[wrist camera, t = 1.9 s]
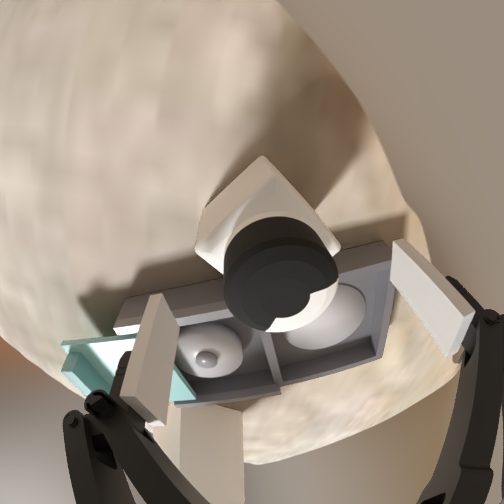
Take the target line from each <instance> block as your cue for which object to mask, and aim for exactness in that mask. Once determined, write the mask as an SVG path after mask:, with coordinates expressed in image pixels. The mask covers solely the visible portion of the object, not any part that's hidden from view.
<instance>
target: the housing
mask: <svg viewBox="0 0 504 504" xmlns="http://www.w3.org/2000/svg"><path fill="white" fill-rule="evenodd" d="M333 259H334V261H335V263H336V265H337V269H338V275H339V280H338V287H337V291H336V293H335V296H334V298H333V299H332V301H331V303H330V304H329V306H328V307H327V308H326V310H325V311H324V312H323V313H322V314H321V315H320V316H319V317H317V318H316V319H315V320H313V321H312V322H310V323H308V324H306V325H305V326H302V327H300V328H297V329H294V330H290V331H285V332H265V331H260V330H257V329H254V328H251V327H249V326H247V325H245V324H243V323H242V322H240V321H239V320H238V319H237V318H235V317H234V316H233V314H232V313H231V312H230V311H229V309H228V307H227V305H226V302H225V299H224V293H223V278H220V279H216V280H211V281H206V282H202V283H197V284H192V285H187V286H183V287H178V288H173V289H168V290H163V291H159V292H154V293H149V294H144V295H139V296H134V297H129V298H125V300H124V302H123V305H122V307H121V310H120V312H119V315H118V317H117V320H116V322H115V325H114V327H113V329H114V331H115V332H116V333H117V335H125V334H133V333H138V330H139V327H140V323H141V320H142V317H143V314H144V312H145V309H146V306H147V303H148V300H149V297H150V295H154V294H160V293H162V294H163V296H164V298H165V300H166V302H167V304H168V306H169V308H170V310H171V312H172V314H173V316H174V318H175V320H176V322H177V323H178V325H179V327H180V331H179V336H178V343H177V349H176V355H175V361H174V364H175V365H176V367H177V368H178V369H179V371H180V372H181V374H182V375H183V377H184V378H185V379H186V381H187V382H188V384H189V385H190V386H191V388H192V389H193V390H194V392H195V393H196V399H195V400H183V401H174V405H175V407H176V408H185V407H198V406H208V405H217V404H226V403H233V402H240V401H247V400H253V399H259V398H264V397H270V396H275V395H280V394H281V390H280V386H285V385H290V384H294V383H298V382H303V381H307V380H311V379H315V378H319V377H322V376H326V375H330V374H333V373H337V372H340V371H343V370H347V369H350V368H353V367H356V366H359V365H362V364H365V363H368V362H371V361H374V360H377V359H380V358H382V355H383V351H384V347H385V342H386V338H387V333H388V328H389V323H390V317H391V312H392V306H393V300H394V293H395V286H394V285H393V283H392V282H391V281H390V274H391V262H392V250H391V249H390V248H389V247H388V246H387V245H386V244H385V243H384V242H383V241H378V242H374V243H370V244H366V245H362V246H358V247H354V248H350V249H346V250H342V251H339V252H337V253H336V254H335V255H334V256H333Z"/></svg>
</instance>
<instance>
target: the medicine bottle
mask: <svg viewBox="0 0 504 504" xmlns="http://www.w3.org/2000/svg"><path fill="white" fill-rule="evenodd" d="M340 249H341V246H340V243H339V242H338V241H337V239H336V238H335V237H334V235H333V234H332V233H331V231H330V230H329V229H328V227H327V226H326V225H325V223H324V222H323V221H322V220H321V218H320V217H319V216H318V214H317V213H316V212H315V211H314V209H313V208H312V207H311V206H310V205H309V204H308V203H307V201H306V200H305V199H304V198H303V197H302V196H301V195H300V193H299V192H298V191H297V190H296V189H295V188H294V187H293V186H292V185H291V184H290V182H289V181H288V180H287V179H286V178H285V177H284V176H283V175H282V174H281V173H280V172H279V171H278V169H277V168H276V167H275V166H274V165H273V164H272V163H271V162H270V161H269V160H268V159H267V158H266V157H265V156H259V157H258V158H257V159H256V160H255V161H254V162H252V163H251V164H250V165H249V166H248V167H247V168H246V169H245V170H244V171H243V172H242V173H241V174H240V175H238V176H237V177H236V178H235V179H234V180H233V181H232V182H231V183H230V184H229V185H228V186H227V187H226V188H225V189H224V190H223V191H222V192H221V193H220V194H219V195H218V196H217V197H216V198H214V199H213V200H212V201H211V202H210V203H209V204H208V205H207V206H206V207H205V208H204V209H203V211H202V215H201V220H200V224H199V229H198V234H197V238H196V243H195V252H196V253H197V254H198V255H199V256H200V257H202V258H203V259H204V260H205V261H207V262H208V263H209V264H210V265H212V266H213V267H214V268H215V269H217V270H218V271H219V272H220V273H222V274H223V293H224V299H225V302H226V305H227V307H228V309H229V311H230V312H231V313H232V314H233V316H234V317H235V318H237V319H238V320H239V321H240V322H242V323H243V324H245V325H247V326H249V327H251V328H254V329H257V330H260V331H265V332H285V331H290V330H294V329H297V328H300V327H302V326H305V325H306V324H308V323H310V322H312V321H313V320H315V319H316V318H317V317H319V316H320V315H321V314H322V313H323V312H324V311H325V310H326V308H327V307H328V306H329V304H330V303H331V301H332V299H333V298H334V296H335V293H336V291H337V287H338V280H339V275H338V269H337V265H336V263H335V261H334V259H333V256H334V255H335V254H336V253H337V252H339V251H340Z"/></svg>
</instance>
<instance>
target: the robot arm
mask: <svg viewBox="0 0 504 504" xmlns="http://www.w3.org/2000/svg"><path fill="white" fill-rule="evenodd" d="M390 281H391V282H392V283H393V285H394V286H395V287H396V288H397V290H398V291H399V292H400V294H401V295H402V296H403V298H404V299H405V300H406V302H407V303H408V304H409V306H410V307H411V308H412V310H413V311H414V312H415V314H416V315H417V316H418V318H419V319H420V321H421V322H422V324H423V325H424V326H425V328H426V329H427V331H428V332H429V334H430V335H431V336H432V338H433V339H434V341H435V342H436V344H437V345H438V347H439V348H440V350H441V351H442V353H443V355H444V356H445V358H448V357H450V356H452V355H454V354H455V353H457V352H458V350H459V348H460V346H461V344H462V346H463V347H464V351H463V353H462V355H461V357H460V359H459V361H458V363H459V364H460V362H461V360H462V364H461V371H460V378H459V383H458V389H457V394H456V399H455V404H454V409H453V413H452V417H451V421H450V425H449V428H448V432H447V435H446V439H445V442H444V445H443V448H442V451H441V455H440V457H439V460H438V463H437V466H436V468H435V471H434V473H433V476H432V478H431V480H430V482H429V483H428V485H427V486H426V487H425V489H424V490H423V492H422V494H421V496H420V498H419V500H418V502H417V504H484V503H485V501H486V498H487V495H488V492H489V489H490V486H491V483H492V479H493V470H492V469H491V468H490V462H491V458H492V454H493V450H494V445H495V440H496V435H497V430H498V424H499V417H500V409H501V403H502V415H503V436H504V314H502V315H499V314H498V313H497V312H496V311H494V310H491V309H486V310H484V309H483V308H482V306H481V305H480V304H479V303H478V302H477V301H476V300H475V299H474V298H473V297H472V295H471V294H470V293H469V292H467V290H466V289H465V288H463V286H462V285H461V284H460V283H459V282H458V281H457V280H456V279H454V278H452V277H450V276H447V277H444V276H443V275H442V274H441V273H440V272H439V271H438V270H437V269H436V268H435V267H434V266H433V265H432V264H431V263H430V262H429V261H428V260H427V259H426V258H425V257H424V256H422V255H421V254H420V253H419V252H418V251H417V250H416V249H415V248H414V247H413V246H412V245H411V244H410V243H409V242H407V241H406V240H405V239H404V238H402V239H398V240H394V241H393V247H392V262H391V274H390ZM179 331H180V327H179V325H178V323H177V322H176V320H175V318H174V316H173V314H172V312H171V310H170V308H169V306H168V304H167V302H166V300H165V298H164V296H163V294H162V293H160V294H154V295H150V297H149V300H148V303H147V306H146V309H145V312H144V314H143V317H142V320H141V323H140V327H139V330H138V333H137V336H136V339H135V342H134V346H133V349H132V351H125V352H124V354H123V355H122V357H121V358H120V360H119V363H118V366H117V369H116V372H115V376H114V379H113V383H112V386H111V389H110V393H109V395H108V394H107V393H106V392H105V391H104V390H101V389H98V390H94V391H92V392H91V393H90V394H89V395H88V396H87V398H86V399H85V403H84V407H85V409H86V411H88V412H89V414H86V415H83V414H82V413H80V412H79V411H77V410H72V411H70V412H68V413H67V414H66V416H65V417H64V420H63V432H64V442H65V450H66V456H67V463H68V468H69V474H70V478H71V483H72V488H73V492H74V496H75V500H76V504H136V503H135V501H134V498H133V496H132V493H131V491H130V488H129V485H128V482H127V480H126V477H125V474H124V471H125V473H126V474H127V476H128V477H129V479H130V480H131V482H132V483H133V485H134V486H135V488H136V489H137V491H138V492H139V494H140V495H141V496H142V498H143V499H144V501H145V502H146V503H147V504H210V503H209V502H208V501H207V500H206V499H205V498H204V497H203V496H202V495H201V494H200V493H199V492H198V491H197V490H196V489H195V488H194V487H193V485H192V484H191V483H190V482H189V481H188V480H187V479H186V478H185V477H184V476H183V474H182V473H181V472H180V471H179V470H178V469H177V467H176V466H175V465H174V464H173V463H172V461H171V460H170V459H169V458H168V457H167V455H166V454H165V453H164V452H163V450H162V449H161V448H160V446H159V445H158V444H157V442H156V441H155V440H154V438H153V437H152V436H151V434H150V433H149V432H148V430H147V429H146V428H145V421H146V422H147V423H149V424H150V425H151V426H166V422H167V413H168V405H169V397H170V389H171V382H172V375H173V368H174V361H175V355H176V349H177V343H178V336H179ZM503 441H504V437H503ZM503 446H504V442H503ZM123 469H124V471H123ZM500 504H504V447H503V471H502V501H501V503H500Z"/></svg>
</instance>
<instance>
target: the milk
mask: <svg viewBox="0 0 504 504" xmlns="http://www.w3.org/2000/svg"><path fill="white" fill-rule="evenodd" d="M153 438H154V440H155V441H156V442H157V444H158V445H159V446H160V448H161V449H162V450H163V452H164V453H165V454H166V455H167V457H168V458H169V459H170V460H171V461H172V463H173V464H174V465H175V466H176V467H177V469H178V470H179V471H180V472H181V473H182V474H183V476H184V477H185V478H186V479H187V480H188V481H189V482H190V483H191V484H192V485H193V487H194V488H195V489H196V490H197V491H198V492H199V493H200V494H201V495H202V496H203V497H204V498H205V499H206V500H207V501H208V502H209V503H210V504H245V492H244V460H243V423H242V412H241V411H237V410H233V409H229V408H226V407H222V406H219V405H208V406H198V407H185V408H176V407H175V405H174V401H173V402H171V403H170V404H169V405H168V413H167V422H166V426H154V430H153Z"/></svg>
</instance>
